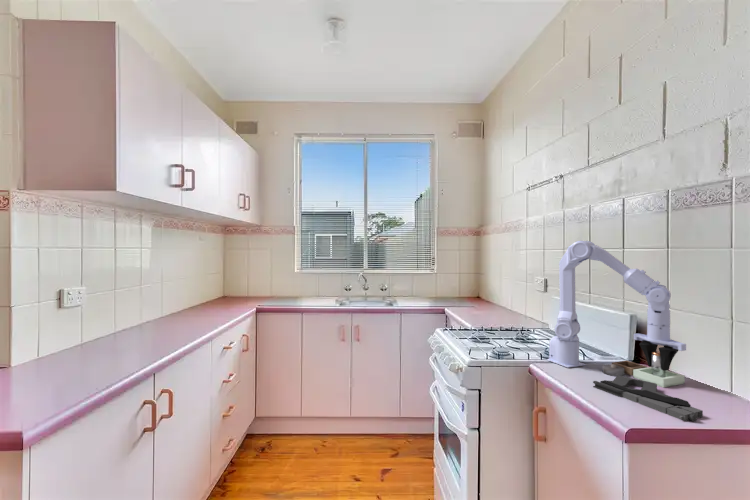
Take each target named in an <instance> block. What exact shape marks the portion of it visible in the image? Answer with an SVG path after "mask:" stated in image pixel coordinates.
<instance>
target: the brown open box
mask: <svg viewBox="0 0 750 500" xmlns="http://www.w3.org/2000/svg"><path fill="white" fill-rule="evenodd" d="M647 367H648V365H647V366H646V365H643V364H640V363H636V362H634V361H631V360H621V361H615V362H614V361H613V362H611V363H610V364H603V365H602V373H603V374H605V375H607V376H612V377H617V376H624V377H625V375H629V376H630V377H631V376H633V370H634V369H641V368H647Z"/></svg>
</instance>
